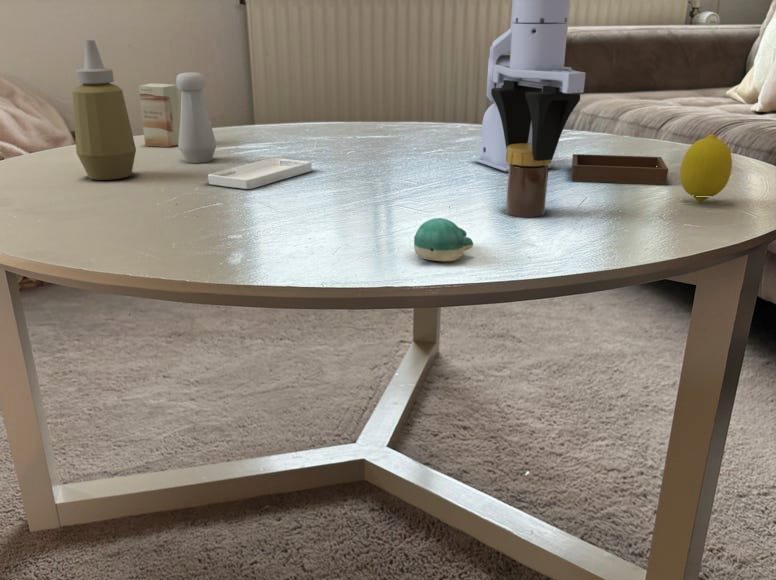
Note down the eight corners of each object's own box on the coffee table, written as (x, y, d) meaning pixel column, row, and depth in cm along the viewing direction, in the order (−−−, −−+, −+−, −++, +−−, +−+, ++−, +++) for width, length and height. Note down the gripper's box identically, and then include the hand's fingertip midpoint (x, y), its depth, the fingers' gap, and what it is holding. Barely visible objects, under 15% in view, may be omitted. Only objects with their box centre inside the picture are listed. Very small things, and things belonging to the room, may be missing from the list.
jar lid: (538, 157, 88) (539, 142, 87) (558, 164, 84) (560, 148, 83) (499, 159, 87) (500, 144, 86) (517, 167, 83) (518, 151, 82)
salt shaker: (221, 157, 122) (214, 71, 117) (211, 164, 117) (203, 74, 111) (186, 157, 123) (177, 71, 117) (174, 163, 117) (164, 74, 112)
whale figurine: (401, 261, 71) (401, 221, 70) (427, 241, 77) (428, 203, 76) (460, 268, 69) (462, 227, 67) (482, 247, 75) (485, 209, 74)
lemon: (694, 209, 88) (707, 139, 85) (665, 199, 93) (676, 132, 90) (734, 206, 90) (748, 136, 86) (704, 196, 95) (716, 130, 91)
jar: (497, 211, 88) (501, 151, 85) (523, 206, 91) (528, 147, 88) (526, 219, 85) (531, 156, 82) (552, 213, 87) (558, 152, 84)
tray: (571, 181, 104) (573, 165, 103) (571, 168, 112) (573, 154, 111) (665, 185, 101) (668, 169, 100) (658, 171, 109) (661, 156, 108)
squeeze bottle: (122, 183, 104) (102, 41, 96) (69, 181, 105) (44, 41, 98) (149, 172, 111) (132, 39, 104) (99, 170, 113) (78, 39, 105)
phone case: (249, 190, 100) (313, 170, 111) (248, 179, 99) (313, 161, 111) (206, 184, 103) (273, 166, 115) (205, 174, 103) (273, 157, 114)
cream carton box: (144, 146, 133) (136, 85, 128) (157, 142, 136) (150, 83, 132) (170, 147, 131) (163, 86, 127) (183, 143, 135) (177, 83, 131)
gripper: (616, 23, 75) (599, 164, 80) (533, 22, 87) (524, 143, 92) (556, 24, 72) (543, 169, 78) (479, 22, 84) (473, 147, 90)
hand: (529, 156), depth 85 cm, fingers closed on jar lid, 5 cm apart
